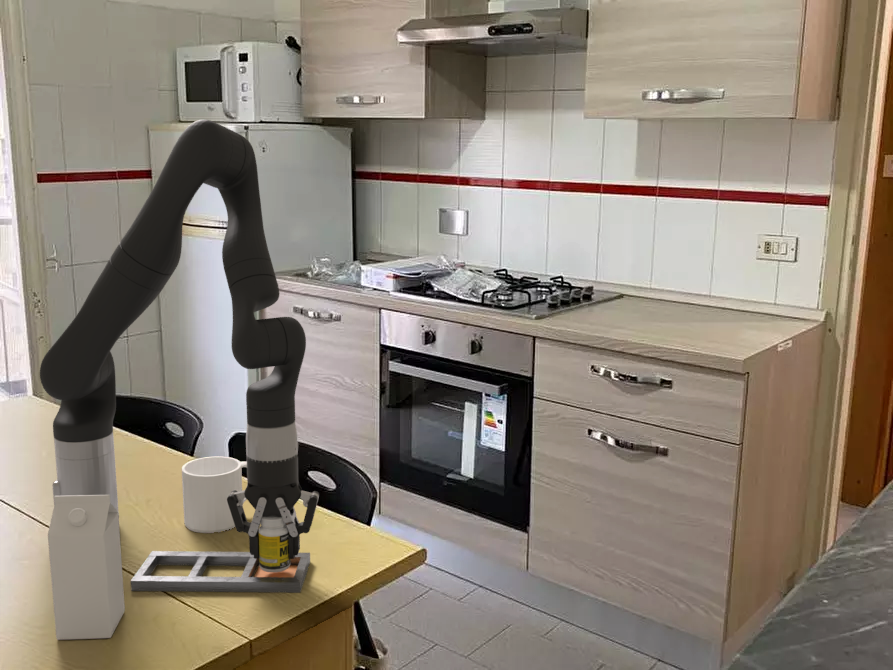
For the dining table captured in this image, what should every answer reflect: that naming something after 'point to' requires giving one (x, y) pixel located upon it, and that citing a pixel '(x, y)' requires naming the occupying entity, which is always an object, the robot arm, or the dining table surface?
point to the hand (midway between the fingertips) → (275, 556)
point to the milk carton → (85, 567)
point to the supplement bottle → (273, 544)
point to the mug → (210, 492)
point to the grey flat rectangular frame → (216, 584)
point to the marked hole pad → (286, 573)
